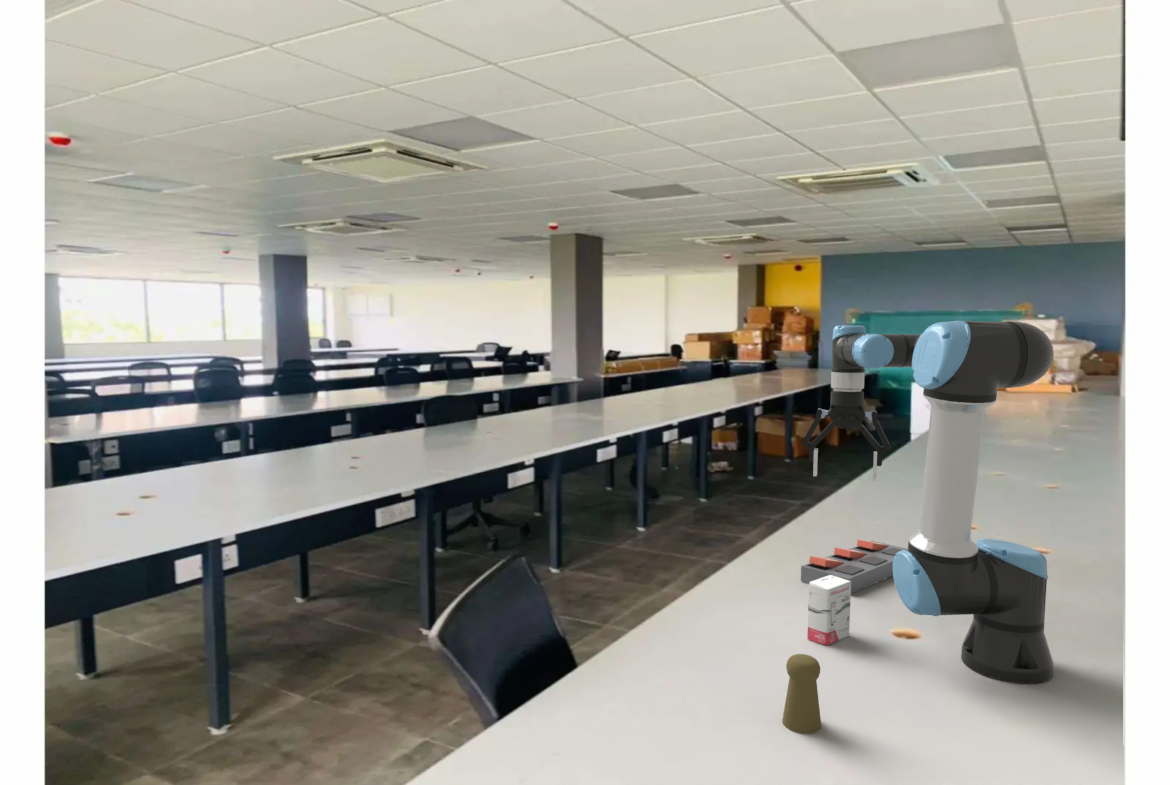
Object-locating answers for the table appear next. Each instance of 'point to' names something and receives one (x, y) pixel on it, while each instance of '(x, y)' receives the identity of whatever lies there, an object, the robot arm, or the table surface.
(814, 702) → the olive brown peg figure
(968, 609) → the robot arm
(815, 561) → the rocker
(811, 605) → the ink box
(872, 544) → the rocker
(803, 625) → the table surface
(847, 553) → the rocker
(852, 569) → the power strip
